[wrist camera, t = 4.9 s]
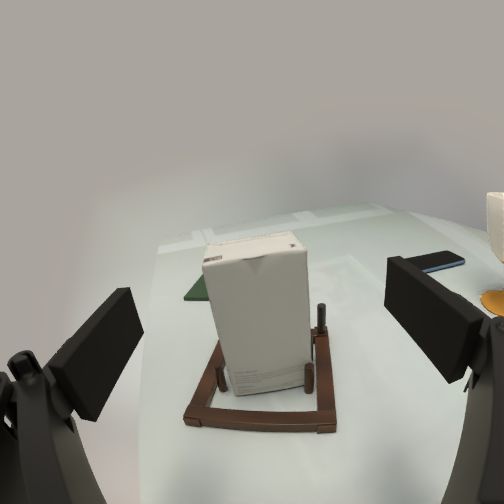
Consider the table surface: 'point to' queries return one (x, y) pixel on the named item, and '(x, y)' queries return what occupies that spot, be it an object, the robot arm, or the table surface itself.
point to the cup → (495, 247)
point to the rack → (263, 420)
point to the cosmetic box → (261, 310)
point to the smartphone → (436, 261)
